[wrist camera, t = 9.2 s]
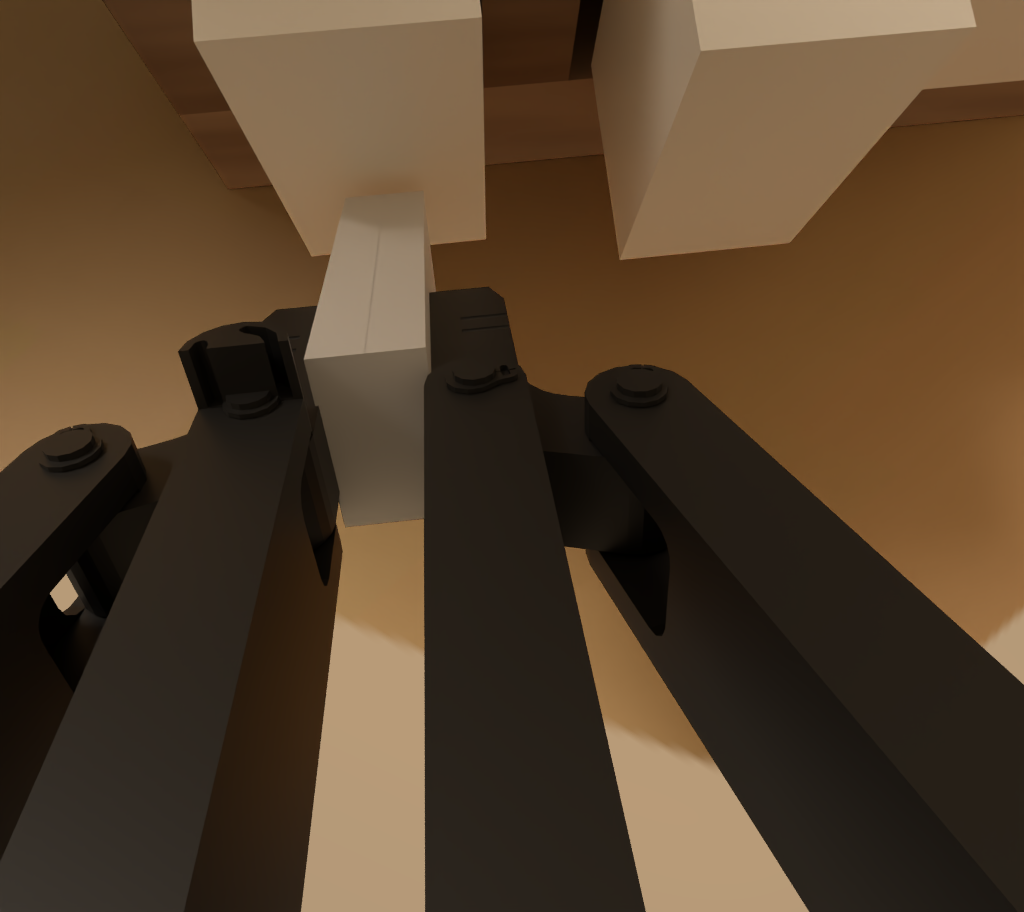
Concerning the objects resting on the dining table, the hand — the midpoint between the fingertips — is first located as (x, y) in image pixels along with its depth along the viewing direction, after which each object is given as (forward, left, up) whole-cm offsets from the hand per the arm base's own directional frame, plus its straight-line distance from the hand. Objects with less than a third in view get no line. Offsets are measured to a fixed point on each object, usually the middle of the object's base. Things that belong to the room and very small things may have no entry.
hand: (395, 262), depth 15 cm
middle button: (+5, +6, -2) cm, 8 cm away
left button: (-2, +3, -2) cm, 4 cm away
